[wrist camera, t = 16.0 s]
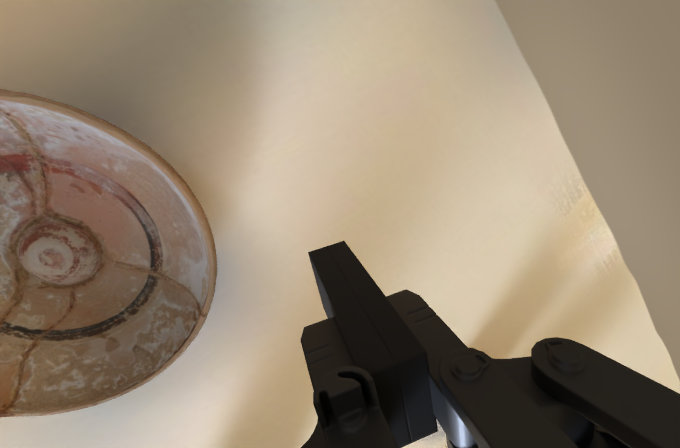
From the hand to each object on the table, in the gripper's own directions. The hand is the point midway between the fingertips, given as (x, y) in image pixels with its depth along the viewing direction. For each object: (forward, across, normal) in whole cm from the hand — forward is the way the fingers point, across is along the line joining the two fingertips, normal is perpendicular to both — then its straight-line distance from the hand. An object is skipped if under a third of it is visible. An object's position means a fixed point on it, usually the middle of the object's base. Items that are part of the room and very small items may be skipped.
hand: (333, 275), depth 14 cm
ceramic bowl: (+18, -18, -1) cm, 25 cm away
